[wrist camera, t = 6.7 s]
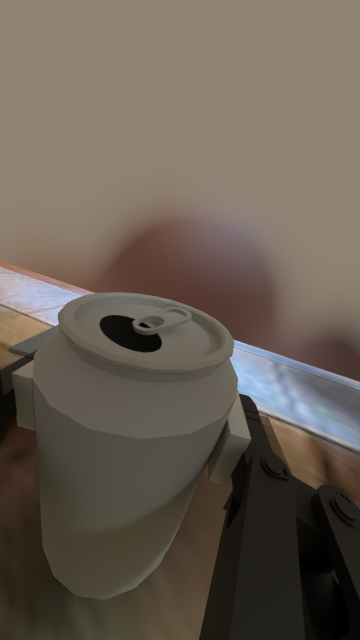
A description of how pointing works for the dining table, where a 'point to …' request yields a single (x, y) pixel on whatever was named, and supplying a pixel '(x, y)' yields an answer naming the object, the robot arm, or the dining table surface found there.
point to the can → (124, 432)
